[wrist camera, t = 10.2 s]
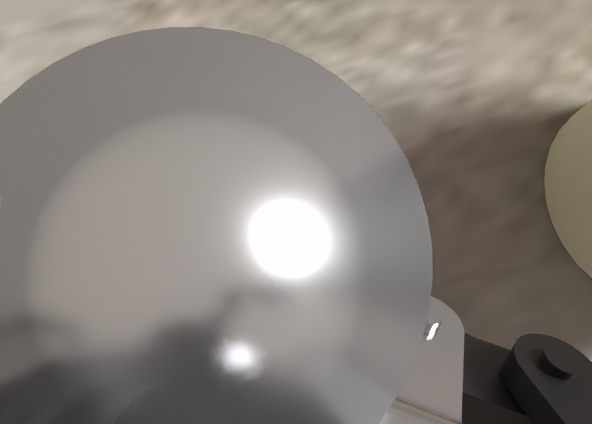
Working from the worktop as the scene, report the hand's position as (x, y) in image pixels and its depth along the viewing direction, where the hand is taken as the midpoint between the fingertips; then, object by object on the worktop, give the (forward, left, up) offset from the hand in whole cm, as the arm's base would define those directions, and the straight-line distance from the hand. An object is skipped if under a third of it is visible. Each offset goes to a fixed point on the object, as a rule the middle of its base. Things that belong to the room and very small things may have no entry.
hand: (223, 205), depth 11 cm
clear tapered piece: (0, +2, -4) cm, 5 cm away
